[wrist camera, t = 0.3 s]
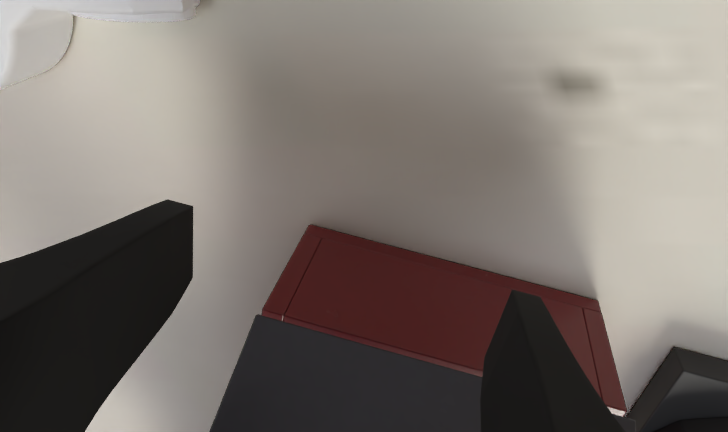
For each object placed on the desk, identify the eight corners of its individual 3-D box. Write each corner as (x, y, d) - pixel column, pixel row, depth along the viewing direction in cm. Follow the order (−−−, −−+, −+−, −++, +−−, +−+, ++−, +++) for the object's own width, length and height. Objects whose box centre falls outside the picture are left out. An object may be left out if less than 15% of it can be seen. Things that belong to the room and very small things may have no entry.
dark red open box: (493, 496, 31) (493, 611, 26) (277, 432, 32) (238, 531, 27) (598, 300, 23) (628, 411, 18) (309, 223, 24) (261, 309, 19)
